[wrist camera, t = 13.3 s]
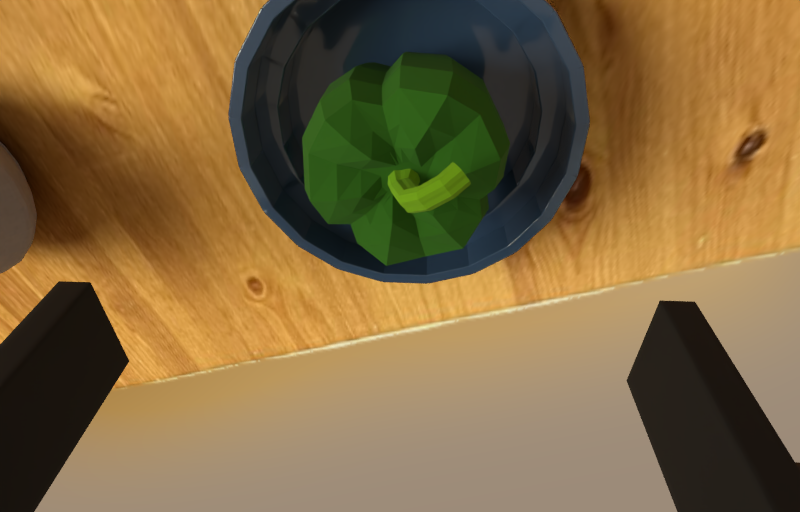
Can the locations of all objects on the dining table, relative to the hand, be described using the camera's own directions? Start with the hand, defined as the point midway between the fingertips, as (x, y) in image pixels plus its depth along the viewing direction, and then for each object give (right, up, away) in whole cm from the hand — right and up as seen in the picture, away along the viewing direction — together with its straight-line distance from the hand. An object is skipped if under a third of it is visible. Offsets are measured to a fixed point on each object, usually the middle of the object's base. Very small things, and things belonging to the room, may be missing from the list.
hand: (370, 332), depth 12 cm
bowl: (+1, +9, +14) cm, 17 cm away
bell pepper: (+1, +9, +13) cm, 16 cm away
